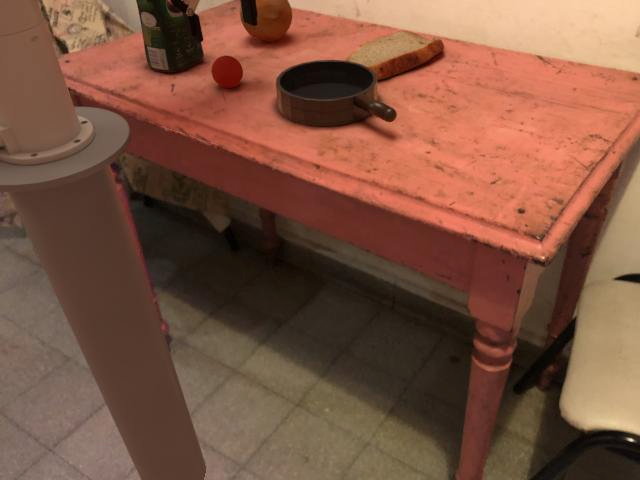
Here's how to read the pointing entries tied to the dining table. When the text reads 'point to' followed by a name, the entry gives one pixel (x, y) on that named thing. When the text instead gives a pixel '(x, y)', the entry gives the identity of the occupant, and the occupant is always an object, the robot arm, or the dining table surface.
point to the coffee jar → (167, 37)
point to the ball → (227, 71)
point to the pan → (324, 92)
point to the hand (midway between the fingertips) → (224, 31)
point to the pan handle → (375, 108)
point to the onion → (270, 20)
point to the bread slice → (396, 53)
